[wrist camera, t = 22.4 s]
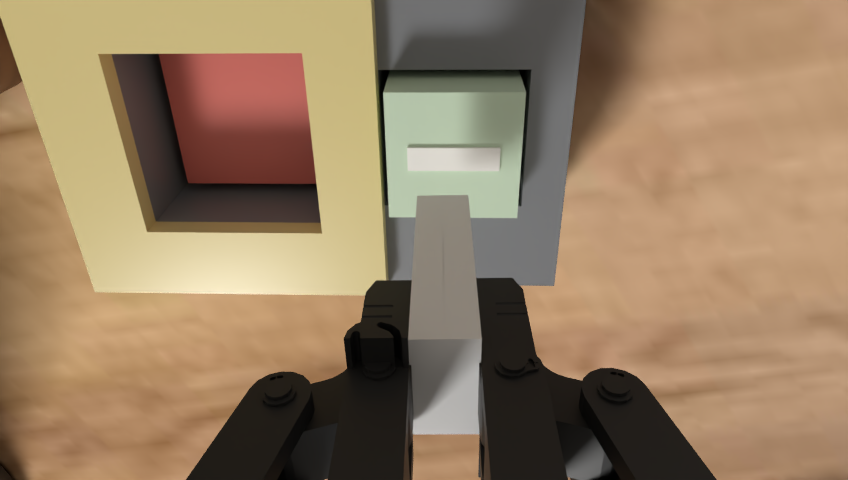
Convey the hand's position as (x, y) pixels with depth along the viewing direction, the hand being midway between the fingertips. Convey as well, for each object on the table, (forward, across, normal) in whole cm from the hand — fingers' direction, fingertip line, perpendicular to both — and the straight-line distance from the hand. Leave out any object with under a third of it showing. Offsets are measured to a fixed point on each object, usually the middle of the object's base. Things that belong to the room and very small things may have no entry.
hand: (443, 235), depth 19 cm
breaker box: (+10, -4, +2) cm, 11 cm away
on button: (+7, 0, +1) cm, 7 cm away
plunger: (+9, -7, +1) cm, 12 cm away
